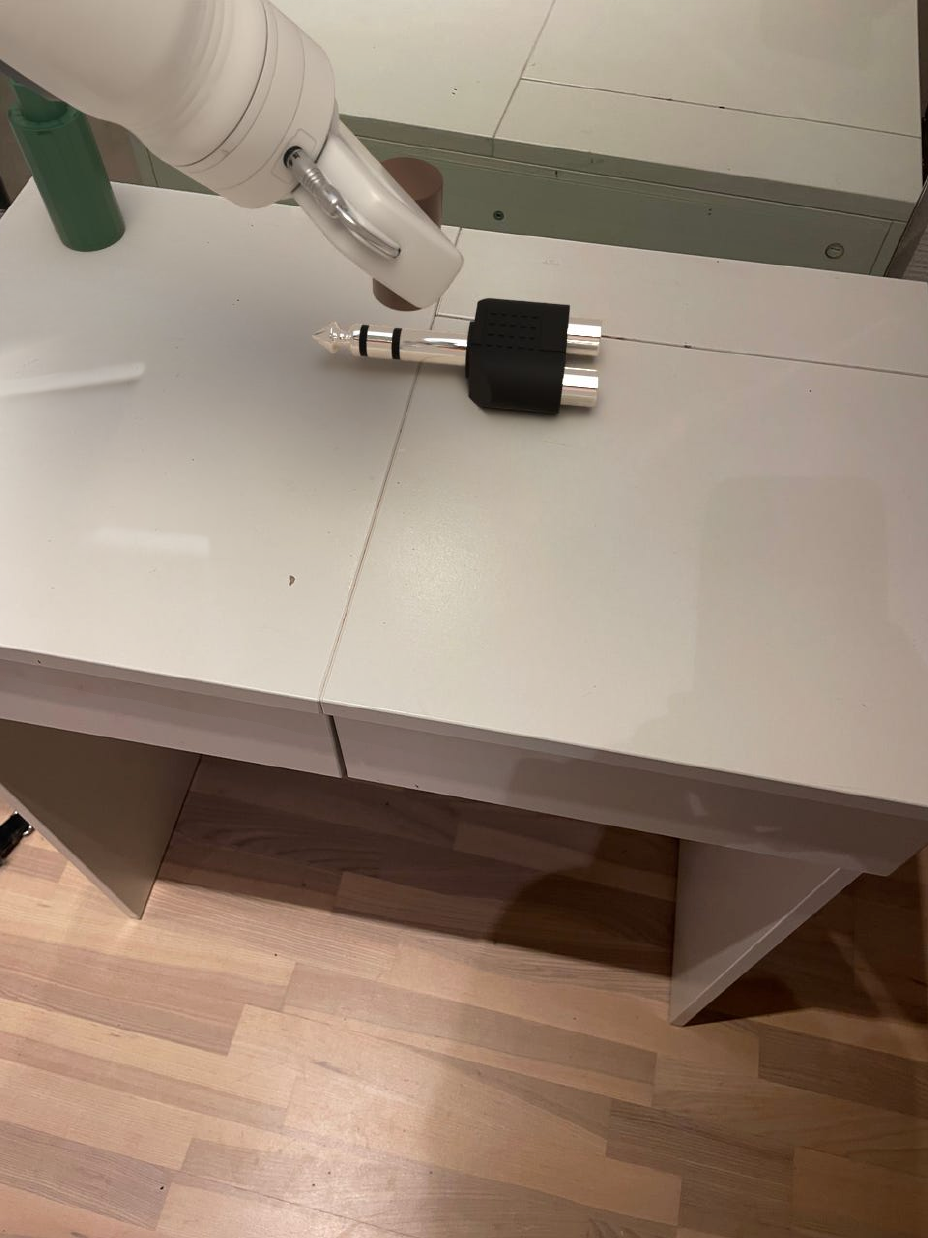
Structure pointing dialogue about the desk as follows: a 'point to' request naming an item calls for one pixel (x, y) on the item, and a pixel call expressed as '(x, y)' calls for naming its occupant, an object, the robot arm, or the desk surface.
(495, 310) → the audio adapter
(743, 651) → the desk surface
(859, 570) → the desk surface
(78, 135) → the bottle
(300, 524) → the desk surface
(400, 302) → the brown cylinder
